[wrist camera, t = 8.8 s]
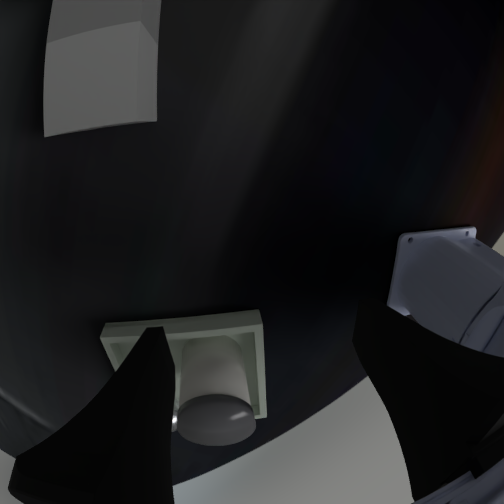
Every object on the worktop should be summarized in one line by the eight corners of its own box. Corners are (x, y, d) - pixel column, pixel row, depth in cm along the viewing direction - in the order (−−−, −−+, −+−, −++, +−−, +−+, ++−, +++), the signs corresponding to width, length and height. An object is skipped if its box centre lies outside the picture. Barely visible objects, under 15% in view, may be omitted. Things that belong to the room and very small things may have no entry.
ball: (181, 386, 24) (180, 418, 21) (189, 408, 25) (189, 438, 22) (144, 388, 24) (139, 418, 20) (154, 409, 25) (151, 438, 22)
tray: (258, 308, 22) (262, 323, 20) (263, 403, 27) (266, 417, 26) (105, 322, 21) (99, 337, 19) (147, 412, 26) (145, 425, 24)
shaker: (241, 329, 22) (255, 403, 16) (244, 373, 24) (256, 442, 18) (175, 334, 21) (168, 409, 15) (186, 377, 23) (185, 447, 17)
